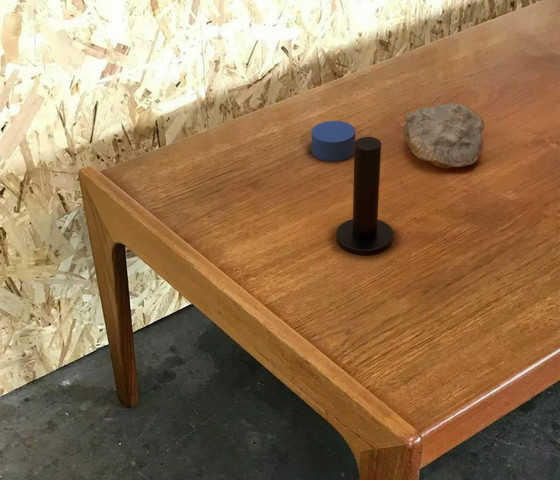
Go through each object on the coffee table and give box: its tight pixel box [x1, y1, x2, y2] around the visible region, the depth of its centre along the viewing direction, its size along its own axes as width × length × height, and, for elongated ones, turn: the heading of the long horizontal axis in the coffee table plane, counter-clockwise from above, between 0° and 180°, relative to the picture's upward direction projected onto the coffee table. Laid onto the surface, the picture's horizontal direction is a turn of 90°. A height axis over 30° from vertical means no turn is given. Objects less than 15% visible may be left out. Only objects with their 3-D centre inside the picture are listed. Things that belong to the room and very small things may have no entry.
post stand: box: [335, 136, 394, 256], centre depth 94 cm, size 7×7×13 cm
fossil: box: [402, 102, 485, 169], centre depth 110 cm, size 12×8×10 cm
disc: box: [310, 120, 356, 162], centre depth 113 cm, size 6×6×3 cm
